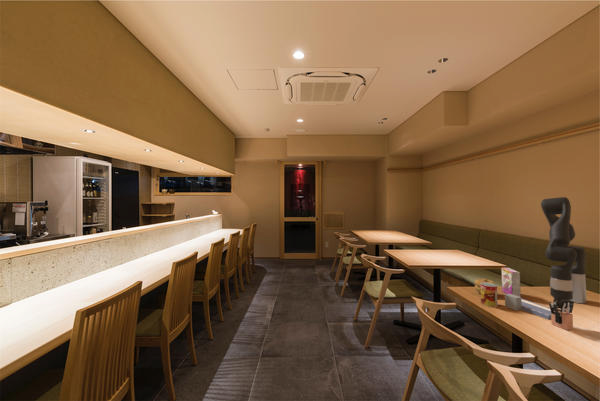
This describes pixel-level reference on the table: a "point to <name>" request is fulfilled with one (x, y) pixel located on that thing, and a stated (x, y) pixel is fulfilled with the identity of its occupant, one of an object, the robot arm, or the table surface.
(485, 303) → the canned food
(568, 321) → the stub terracotta
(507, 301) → the stub grey
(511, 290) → the candy bar box
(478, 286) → the pot
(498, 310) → the table surface
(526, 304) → the ticket slab
